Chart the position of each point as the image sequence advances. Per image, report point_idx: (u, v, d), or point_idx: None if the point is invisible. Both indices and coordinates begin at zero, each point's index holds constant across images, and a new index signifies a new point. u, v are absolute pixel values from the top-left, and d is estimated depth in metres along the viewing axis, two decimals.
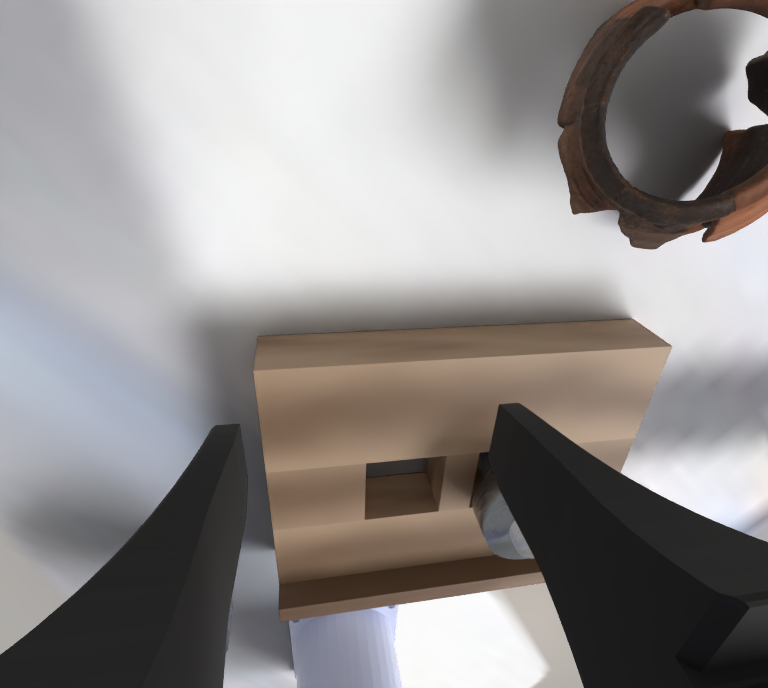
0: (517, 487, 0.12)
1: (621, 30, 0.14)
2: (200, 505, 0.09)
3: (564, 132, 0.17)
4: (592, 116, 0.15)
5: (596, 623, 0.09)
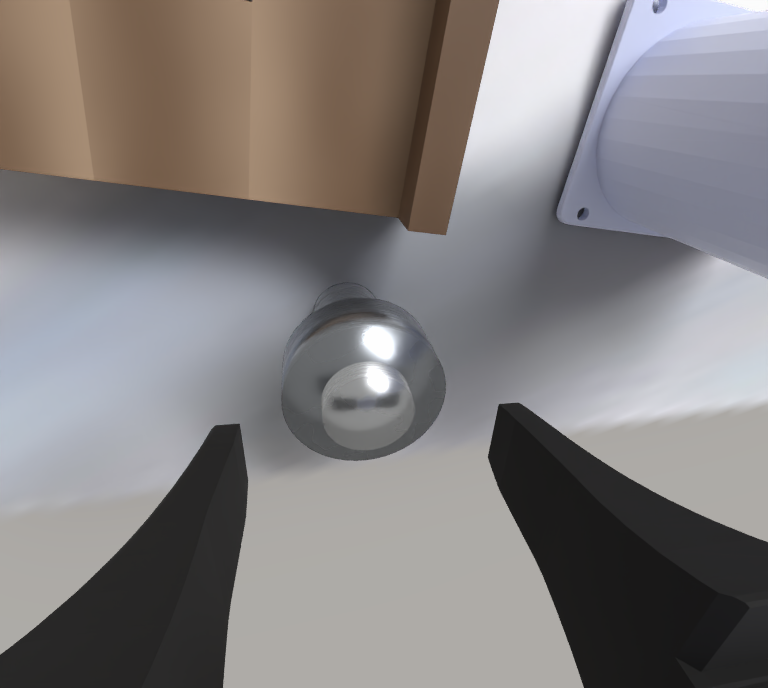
0: (517, 487, 0.12)
1: None
2: (200, 505, 0.09)
3: None
4: None
5: (596, 623, 0.09)
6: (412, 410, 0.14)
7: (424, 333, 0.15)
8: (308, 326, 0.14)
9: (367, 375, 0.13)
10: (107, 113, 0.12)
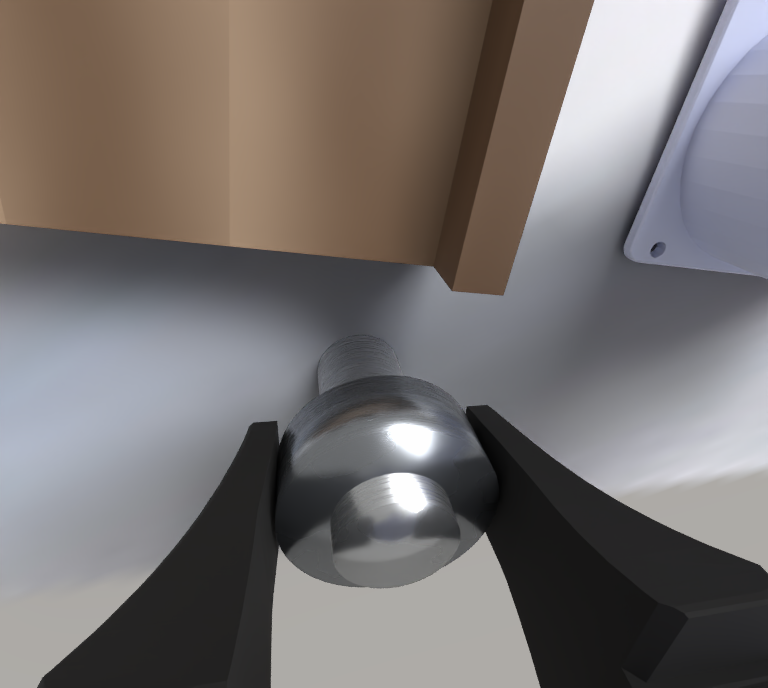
0: None
1: None
2: (250, 500, 0.09)
3: None
4: None
5: (552, 630, 0.09)
6: (456, 539, 0.10)
7: (467, 420, 0.11)
8: (312, 420, 0.10)
9: (396, 502, 0.09)
10: (18, 129, 0.08)
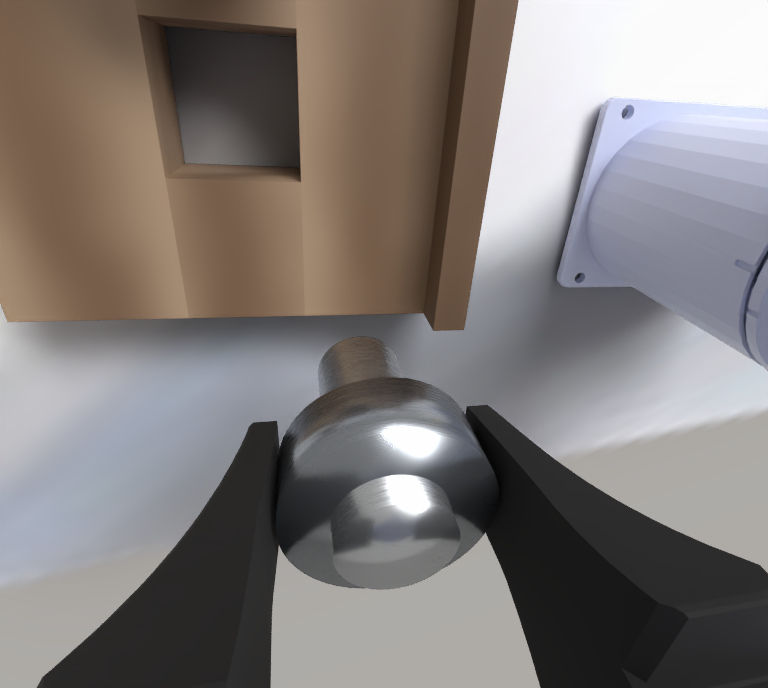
0: None
1: None
2: (250, 500, 0.09)
3: None
4: None
5: (553, 630, 0.09)
6: (456, 540, 0.10)
7: (467, 422, 0.11)
8: (312, 422, 0.10)
9: (396, 503, 0.09)
10: (197, 271, 0.16)
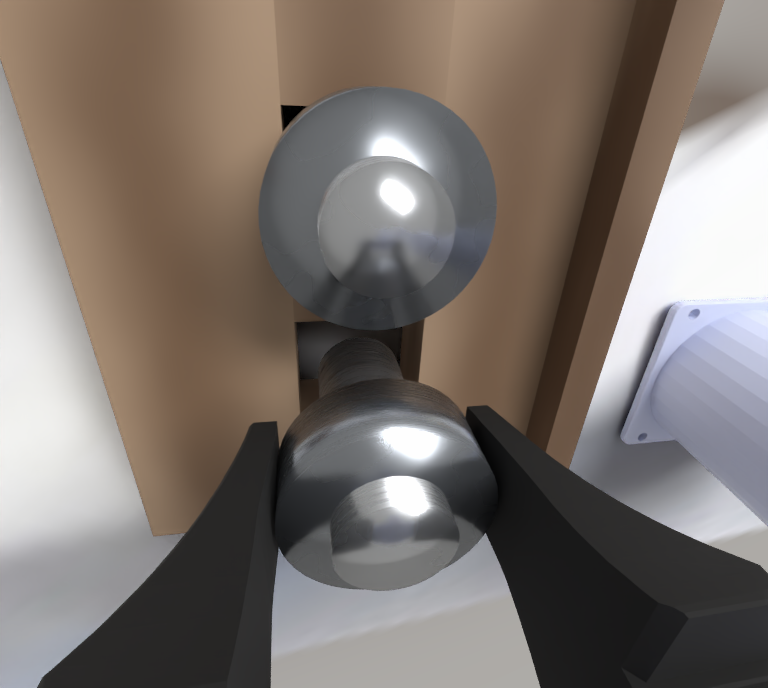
0: None
1: None
2: (250, 500, 0.09)
3: None
4: None
5: (553, 630, 0.09)
6: (456, 541, 0.10)
7: (466, 422, 0.11)
8: (310, 424, 0.10)
9: (394, 504, 0.09)
10: None
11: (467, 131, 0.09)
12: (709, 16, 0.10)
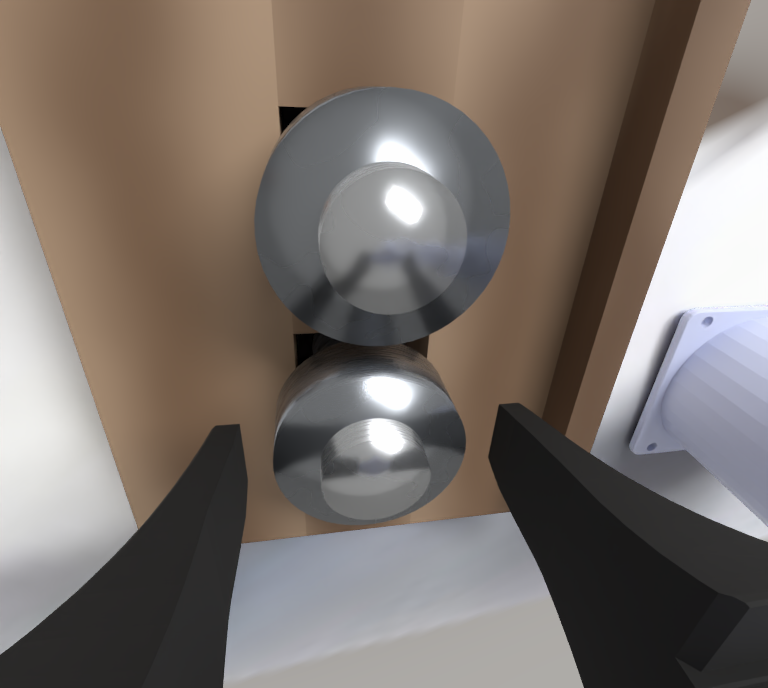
0: (517, 487, 0.12)
1: None
2: (200, 505, 0.09)
3: None
4: None
5: (596, 623, 0.09)
6: (427, 475, 0.12)
7: (439, 378, 0.13)
8: (303, 376, 0.12)
9: (373, 439, 0.11)
10: None
11: (480, 135, 0.09)
12: (736, 12, 0.10)
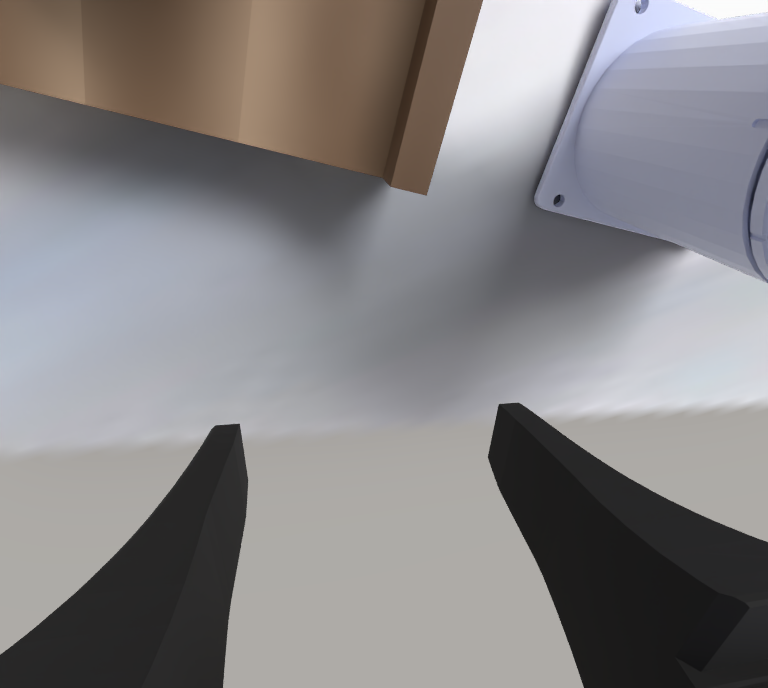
0: (517, 487, 0.12)
1: None
2: (200, 505, 0.09)
3: None
4: None
5: (596, 623, 0.09)
6: None
7: None
8: None
9: None
10: (104, 37, 0.12)
11: None
12: None
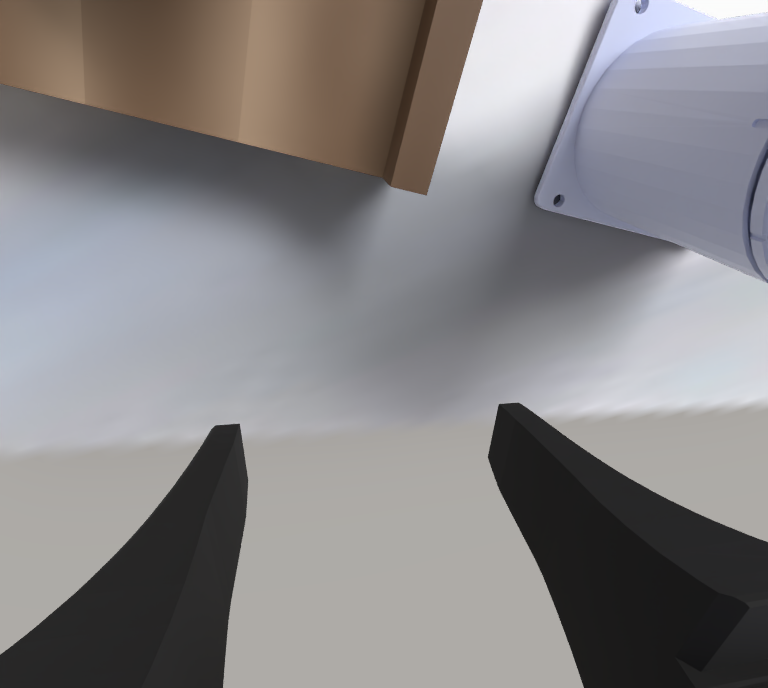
0: (517, 487, 0.12)
1: None
2: (200, 505, 0.09)
3: None
4: None
5: (596, 623, 0.09)
6: None
7: None
8: None
9: None
10: (104, 37, 0.12)
11: None
12: None
